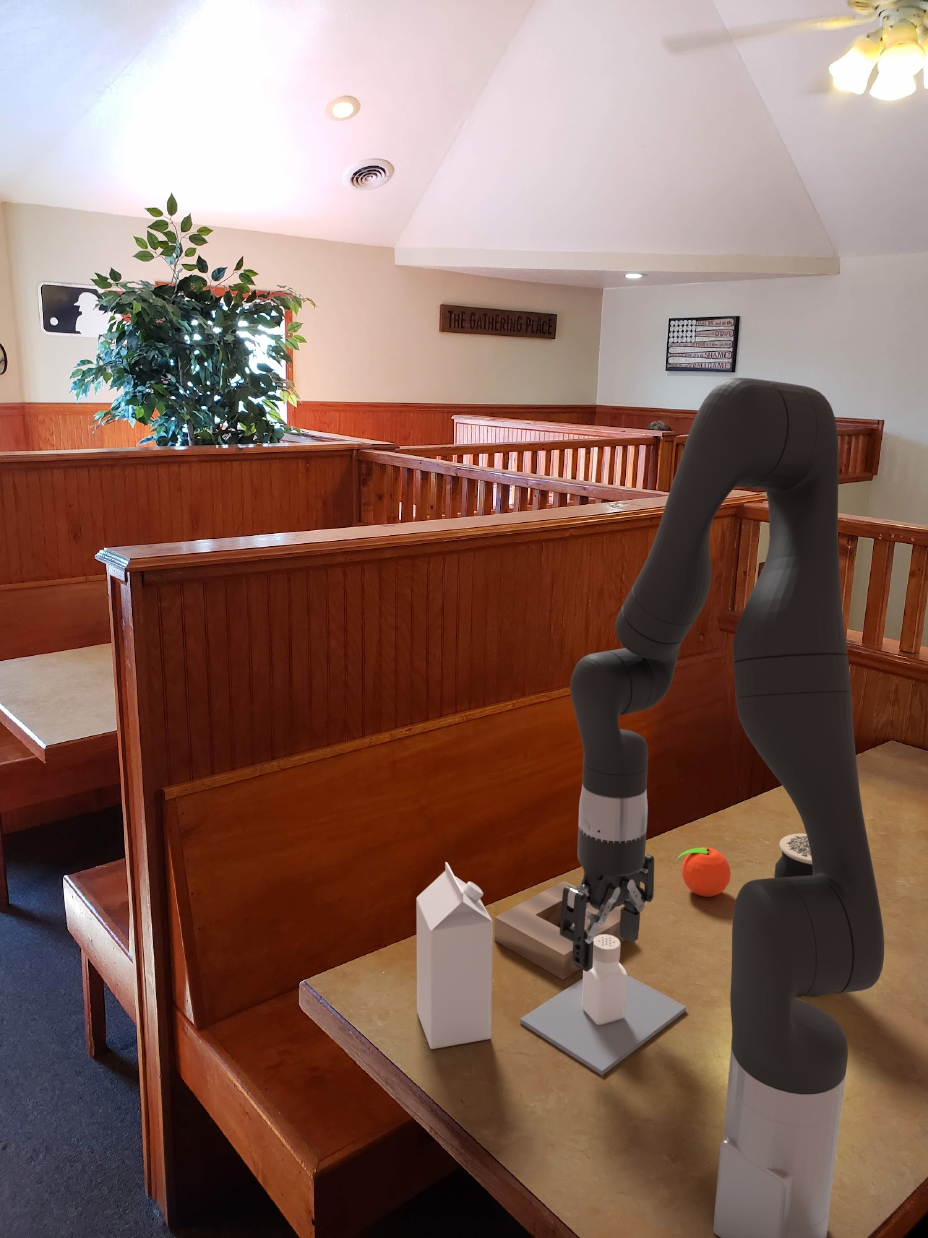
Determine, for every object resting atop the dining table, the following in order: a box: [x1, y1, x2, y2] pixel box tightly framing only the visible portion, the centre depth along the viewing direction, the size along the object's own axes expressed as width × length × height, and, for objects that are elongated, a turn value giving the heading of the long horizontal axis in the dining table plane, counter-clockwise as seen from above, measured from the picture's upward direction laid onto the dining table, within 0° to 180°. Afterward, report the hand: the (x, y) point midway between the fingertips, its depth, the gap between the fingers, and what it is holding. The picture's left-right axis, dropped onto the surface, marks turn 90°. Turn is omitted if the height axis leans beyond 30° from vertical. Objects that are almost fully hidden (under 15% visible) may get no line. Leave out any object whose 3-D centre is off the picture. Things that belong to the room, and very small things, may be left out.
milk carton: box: [416, 861, 494, 1050], centre depth 108 cm, size 7×7×19 cm
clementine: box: [674, 846, 731, 898], centre depth 139 cm, size 8×7×7 cm
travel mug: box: [773, 833, 813, 878], centre depth 118 cm, size 8×8×18 cm
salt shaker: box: [582, 934, 628, 1025], centre depth 111 cm, size 4×4×10 cm
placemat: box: [519, 974, 687, 1076], centre depth 112 cm, size 16×12×1 cm
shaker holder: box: [494, 880, 627, 981], centre depth 128 cm, size 14×12×4 cm
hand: (606, 953), depth 110 cm, fingers open, 8 cm apart
